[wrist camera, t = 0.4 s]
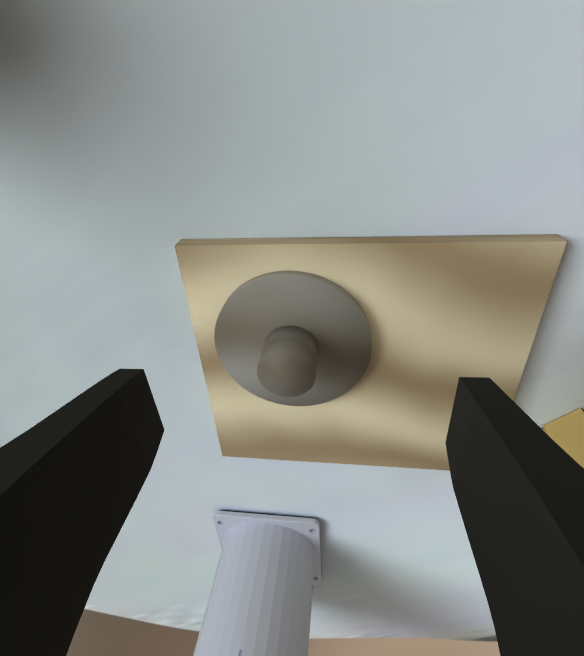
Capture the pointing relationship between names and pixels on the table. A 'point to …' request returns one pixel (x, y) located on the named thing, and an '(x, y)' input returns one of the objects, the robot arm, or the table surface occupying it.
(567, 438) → the cap
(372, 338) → the stud plate
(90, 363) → the table surface
